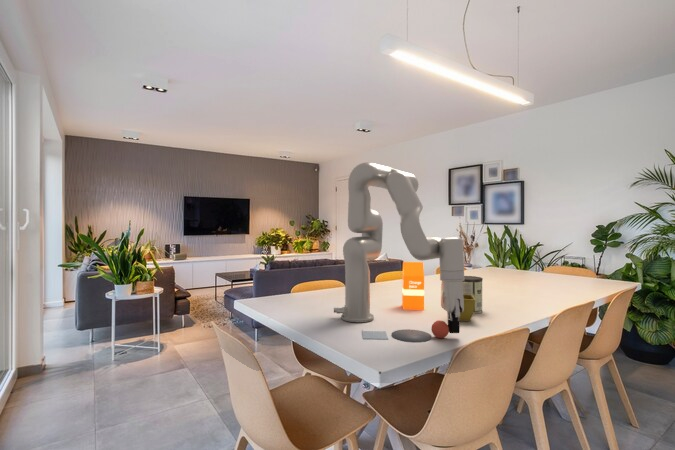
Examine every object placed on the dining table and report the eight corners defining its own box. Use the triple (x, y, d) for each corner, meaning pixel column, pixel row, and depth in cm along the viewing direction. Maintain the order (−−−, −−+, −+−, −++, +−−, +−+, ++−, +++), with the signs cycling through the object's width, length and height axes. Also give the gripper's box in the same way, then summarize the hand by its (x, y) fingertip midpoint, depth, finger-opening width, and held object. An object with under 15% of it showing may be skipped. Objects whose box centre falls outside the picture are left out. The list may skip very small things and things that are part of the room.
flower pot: (475, 323, 136) (475, 299, 136) (450, 322, 138) (451, 298, 138) (471, 317, 145) (471, 294, 145) (448, 316, 146) (448, 293, 146)
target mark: (394, 341, 114) (394, 341, 114) (389, 329, 127) (389, 329, 127) (436, 342, 114) (436, 341, 114) (426, 330, 127) (426, 329, 127)
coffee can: (460, 306, 163) (460, 275, 163) (484, 309, 158) (484, 277, 158) (453, 311, 154) (454, 278, 154) (479, 314, 149) (479, 280, 149)
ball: (447, 343, 117) (431, 337, 116) (443, 335, 122) (427, 330, 122) (453, 327, 116) (437, 322, 116) (448, 320, 121) (433, 315, 121)
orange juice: (402, 305, 166) (402, 260, 166) (421, 305, 165) (422, 261, 165) (403, 309, 158) (403, 262, 158) (424, 309, 157) (424, 263, 157)
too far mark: (363, 339, 117) (363, 338, 117) (362, 331, 125) (362, 331, 125) (388, 339, 117) (388, 338, 117) (385, 331, 125) (385, 331, 125)
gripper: (434, 273, 126) (436, 326, 126) (446, 278, 112) (448, 339, 111) (456, 272, 126) (458, 326, 126) (471, 278, 111) (473, 339, 111)
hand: (453, 332), depth 119 cm, fingers closed
